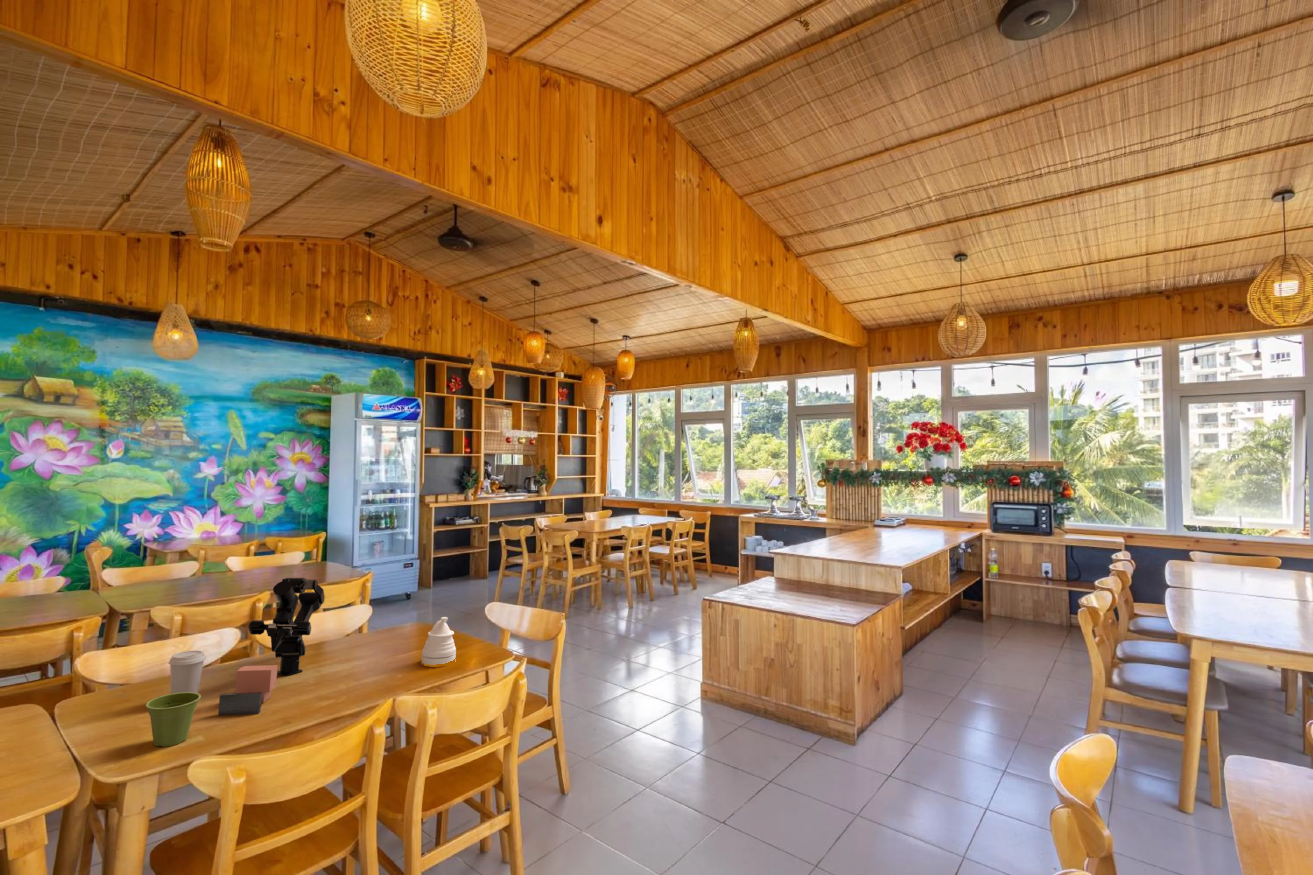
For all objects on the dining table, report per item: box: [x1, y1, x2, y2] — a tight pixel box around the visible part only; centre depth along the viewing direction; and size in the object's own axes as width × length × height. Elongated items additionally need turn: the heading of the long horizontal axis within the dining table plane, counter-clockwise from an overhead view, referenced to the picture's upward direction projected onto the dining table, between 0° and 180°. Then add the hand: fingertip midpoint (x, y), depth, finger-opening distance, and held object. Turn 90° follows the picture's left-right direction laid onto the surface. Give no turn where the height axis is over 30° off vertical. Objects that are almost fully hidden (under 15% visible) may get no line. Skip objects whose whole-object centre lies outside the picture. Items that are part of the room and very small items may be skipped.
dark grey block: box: [217, 692, 262, 716], centre depth 190 cm, size 14×11×6 cm
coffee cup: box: [168, 650, 207, 694], centre depth 192 cm, size 10×10×15 cm
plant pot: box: [145, 692, 201, 748], centre depth 164 cm, size 12×12×11 cm
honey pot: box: [421, 616, 457, 665], centre depth 240 cm, size 13×13×18 cm
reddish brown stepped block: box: [234, 664, 278, 704], centre depth 194 cm, size 5×10×10 cm, turn 102°
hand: (273, 650), depth 205 cm, fingers closed
